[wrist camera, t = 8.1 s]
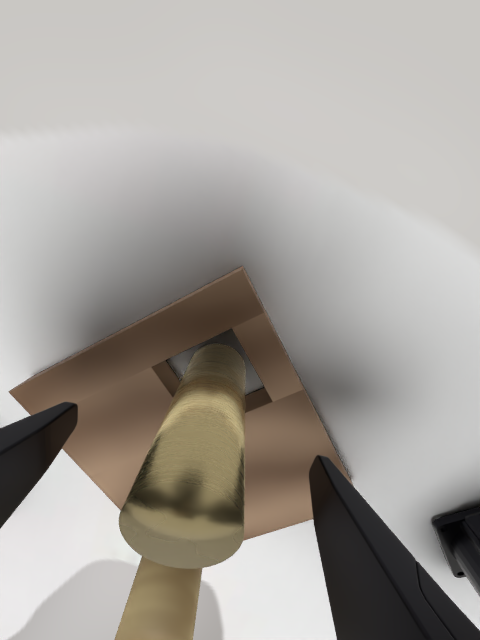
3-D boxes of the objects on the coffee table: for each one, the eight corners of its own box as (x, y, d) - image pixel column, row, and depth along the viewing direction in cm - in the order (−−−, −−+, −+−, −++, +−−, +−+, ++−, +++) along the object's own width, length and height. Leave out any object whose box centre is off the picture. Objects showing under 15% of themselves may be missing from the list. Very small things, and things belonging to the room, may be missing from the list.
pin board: (351, 480, 16) (424, 649, 9) (176, 538, 18) (136, 705, 12) (242, 265, 12) (238, 298, 5) (32, 376, 14) (-159, 497, 7)
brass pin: (251, 350, 13) (258, 498, 6) (238, 397, 14) (228, 577, 7) (195, 337, 13) (124, 472, 5) (185, 386, 14) (114, 556, 6)
